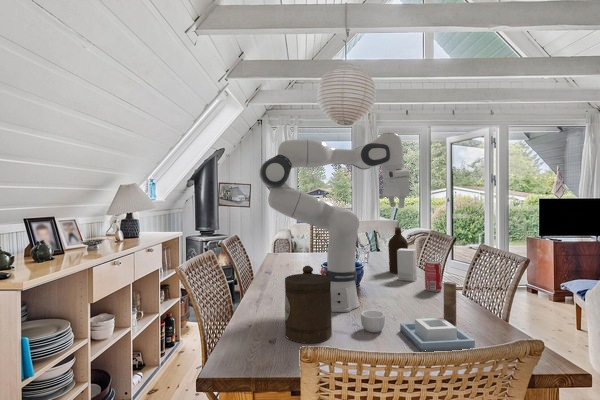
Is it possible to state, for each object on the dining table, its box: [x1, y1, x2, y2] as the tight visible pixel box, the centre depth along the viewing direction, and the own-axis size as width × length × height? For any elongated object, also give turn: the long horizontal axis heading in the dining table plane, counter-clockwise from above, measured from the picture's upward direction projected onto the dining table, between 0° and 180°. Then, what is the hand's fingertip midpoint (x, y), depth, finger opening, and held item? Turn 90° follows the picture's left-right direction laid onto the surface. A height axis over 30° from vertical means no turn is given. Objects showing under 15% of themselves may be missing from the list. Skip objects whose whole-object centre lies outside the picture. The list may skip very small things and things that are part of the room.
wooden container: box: [284, 265, 333, 344], centre depth 120 cm, size 15×15×22 cm
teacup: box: [360, 309, 386, 334], centre depth 124 cm, size 10×8×5 cm
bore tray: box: [399, 317, 476, 352], centre depth 115 cm, size 16×16×5 cm
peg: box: [443, 281, 457, 327], centre depth 128 cm, size 4×4×14 cm
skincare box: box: [397, 248, 418, 282], centre depth 191 cm, size 8×7×16 cm
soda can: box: [424, 260, 443, 293], centre depth 171 cm, size 7×7×13 cm
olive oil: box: [387, 226, 409, 275], centre depth 209 cm, size 11×11×25 cm
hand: (397, 207), depth 152 cm, fingers open, 8 cm apart
